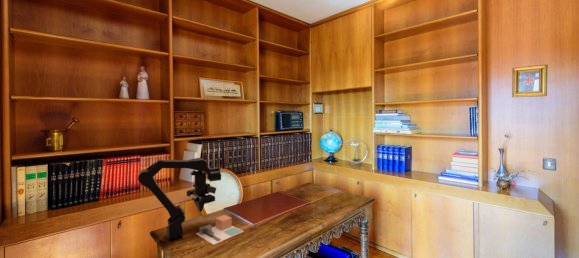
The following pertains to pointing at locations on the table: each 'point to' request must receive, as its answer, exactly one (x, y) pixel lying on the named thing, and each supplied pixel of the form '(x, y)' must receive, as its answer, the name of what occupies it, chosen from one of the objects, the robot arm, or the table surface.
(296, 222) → the table surface
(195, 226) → the table surface
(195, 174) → the robot arm
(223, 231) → the panel
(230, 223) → the salmon orange cube
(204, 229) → the t key
